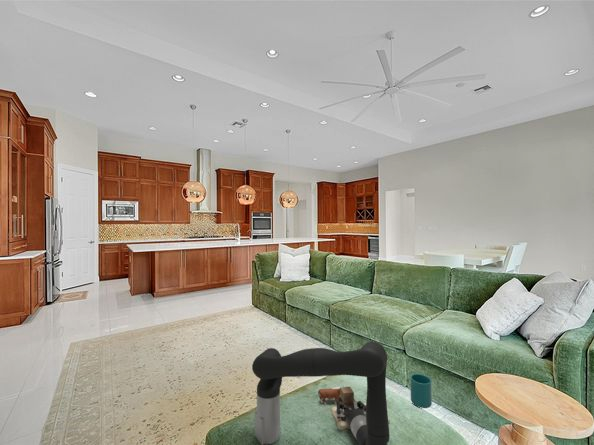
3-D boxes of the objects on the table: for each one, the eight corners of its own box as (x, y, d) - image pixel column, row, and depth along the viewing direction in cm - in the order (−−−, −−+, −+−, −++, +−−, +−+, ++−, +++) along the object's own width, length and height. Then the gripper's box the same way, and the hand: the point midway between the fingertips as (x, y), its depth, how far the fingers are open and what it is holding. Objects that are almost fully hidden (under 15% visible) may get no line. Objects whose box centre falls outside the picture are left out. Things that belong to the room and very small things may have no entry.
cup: (423, 393, 138) (423, 370, 139) (435, 408, 126) (435, 384, 127) (405, 393, 138) (405, 370, 139) (415, 409, 126) (415, 384, 127)
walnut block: (343, 422, 117) (343, 393, 117) (340, 415, 121) (340, 387, 121) (354, 421, 117) (353, 392, 118) (350, 414, 122) (350, 386, 122)
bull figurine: (347, 407, 128) (347, 389, 128) (318, 406, 128) (318, 389, 128) (346, 401, 132) (346, 384, 132) (317, 400, 132) (317, 383, 133)
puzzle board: (339, 431, 112) (339, 426, 112) (330, 412, 124) (330, 407, 124) (389, 425, 116) (389, 419, 116) (376, 406, 128) (376, 401, 128)
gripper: (377, 413, 106) (360, 388, 123) (342, 418, 104) (329, 391, 121) (377, 433, 106) (360, 405, 123) (342, 438, 104) (329, 408, 121)
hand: (344, 398), depth 122 cm, fingers closed on walnut block, 4 cm apart
